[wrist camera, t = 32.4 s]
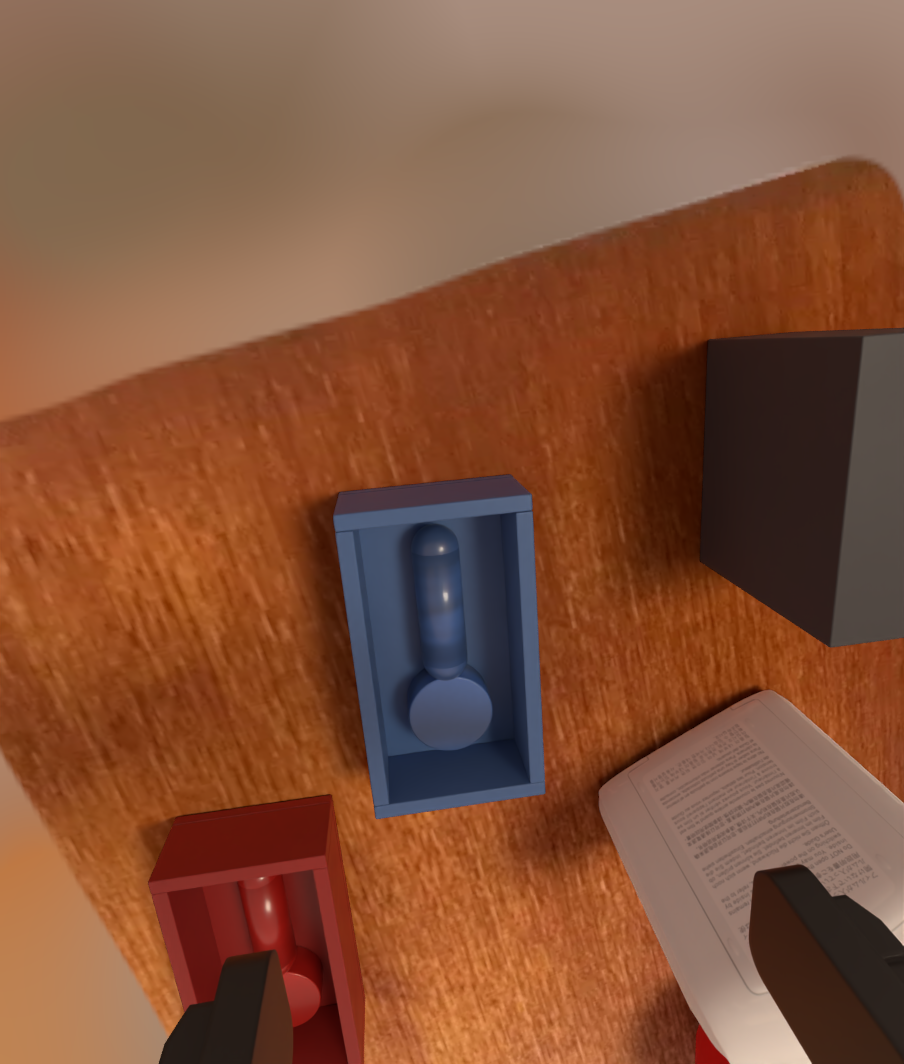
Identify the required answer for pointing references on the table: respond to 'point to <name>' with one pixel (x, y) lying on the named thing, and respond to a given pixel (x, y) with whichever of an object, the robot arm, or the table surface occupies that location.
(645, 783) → the photo printer
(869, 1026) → the robot arm
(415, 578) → the blue spoon
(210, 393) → the table surface
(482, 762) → the blue bin
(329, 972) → the red bin
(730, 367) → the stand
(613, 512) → the table surface
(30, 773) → the table surface
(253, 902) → the red spoon
